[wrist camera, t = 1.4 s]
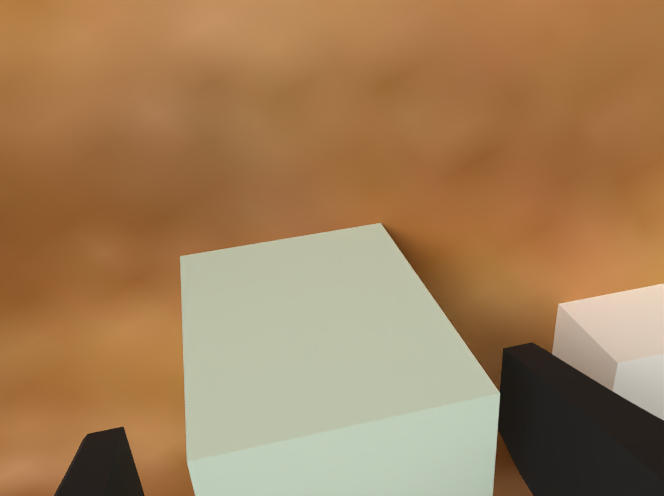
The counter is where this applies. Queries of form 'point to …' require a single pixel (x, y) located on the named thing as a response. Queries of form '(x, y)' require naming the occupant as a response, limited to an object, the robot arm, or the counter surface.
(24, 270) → the counter surface
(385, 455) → the sage block
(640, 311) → the white block
